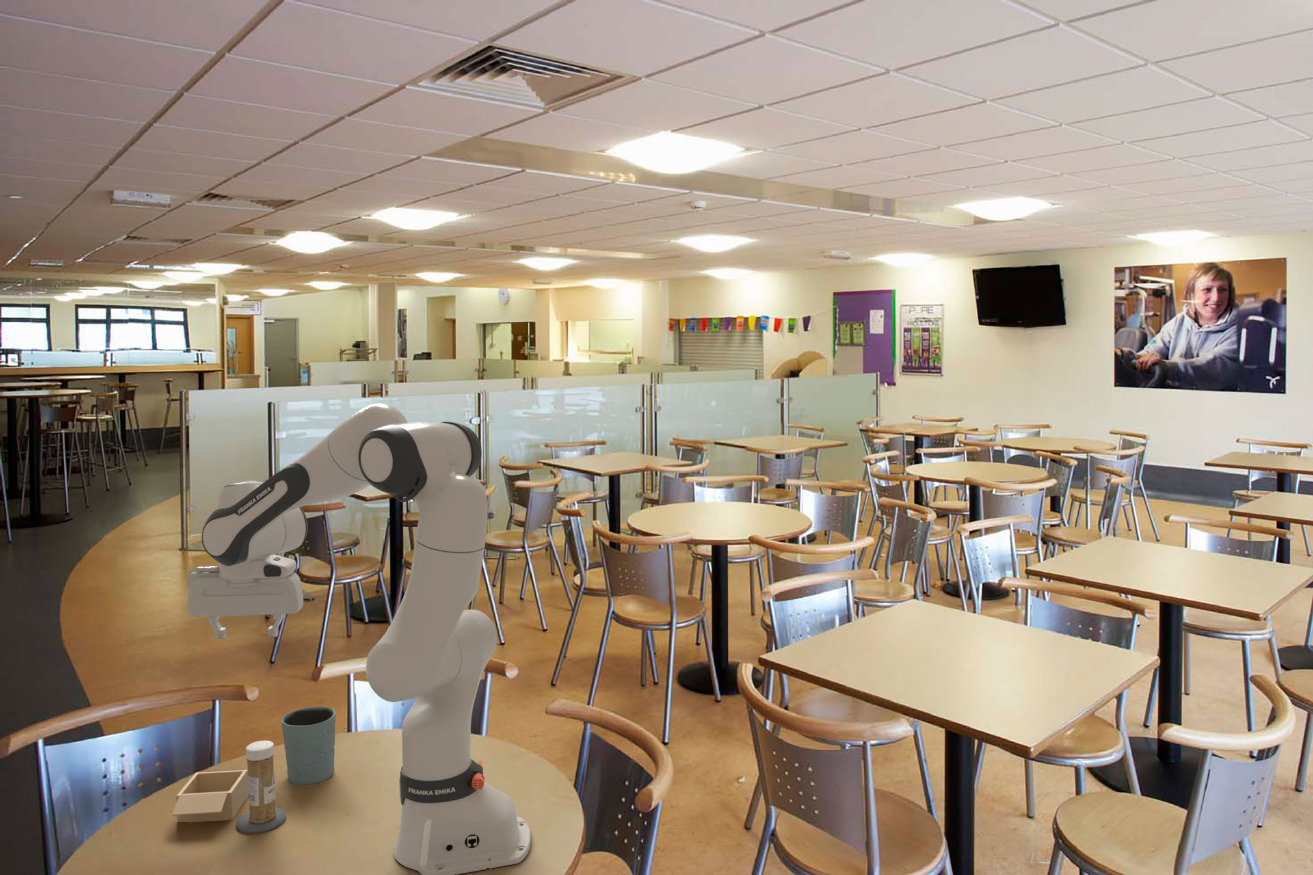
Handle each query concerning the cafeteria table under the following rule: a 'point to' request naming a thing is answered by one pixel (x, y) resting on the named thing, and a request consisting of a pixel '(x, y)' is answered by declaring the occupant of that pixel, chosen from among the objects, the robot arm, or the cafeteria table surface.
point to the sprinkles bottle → (261, 781)
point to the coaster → (250, 827)
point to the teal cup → (309, 744)
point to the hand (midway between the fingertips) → (247, 637)
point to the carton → (212, 796)
